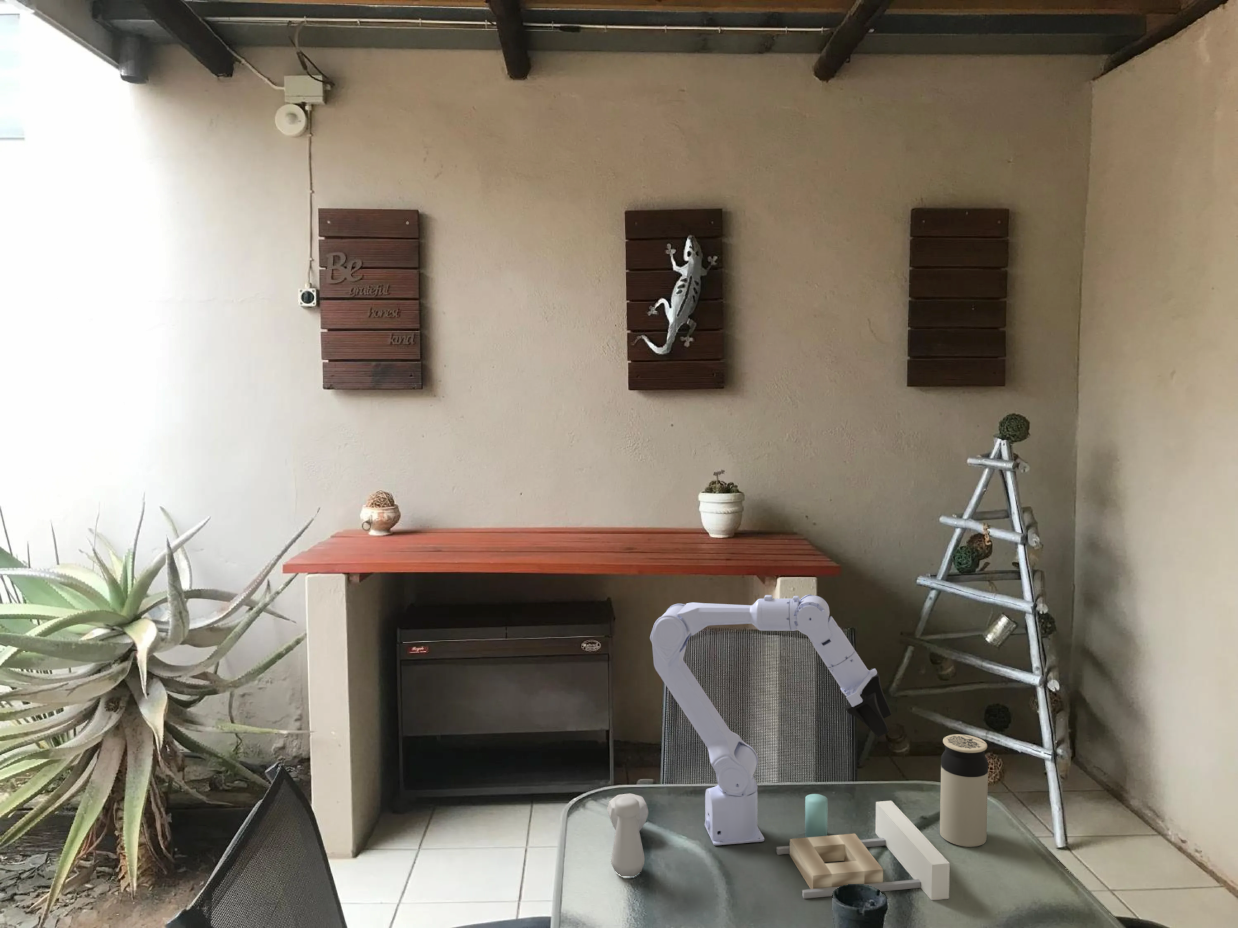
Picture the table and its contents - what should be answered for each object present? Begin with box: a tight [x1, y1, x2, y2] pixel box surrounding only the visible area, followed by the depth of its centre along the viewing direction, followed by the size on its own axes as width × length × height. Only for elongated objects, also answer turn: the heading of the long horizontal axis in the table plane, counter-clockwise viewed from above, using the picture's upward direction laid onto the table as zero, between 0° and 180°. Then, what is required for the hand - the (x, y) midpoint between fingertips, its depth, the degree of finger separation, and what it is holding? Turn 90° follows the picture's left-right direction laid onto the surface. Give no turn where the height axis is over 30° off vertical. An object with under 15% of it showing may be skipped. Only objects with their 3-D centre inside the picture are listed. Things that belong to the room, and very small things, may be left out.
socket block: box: [789, 833, 884, 889], centre depth 156 cm, size 12×12×3 cm
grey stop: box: [776, 800, 951, 901], centre depth 156 cm, size 23×22×6 cm
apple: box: [606, 793, 649, 832], centre depth 170 cm, size 8×8×7 cm
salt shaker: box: [610, 796, 646, 876], centre depth 156 cm, size 6×6×13 cm
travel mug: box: [939, 733, 989, 848], centre depth 166 cm, size 8×8×18 cm
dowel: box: [804, 793, 828, 838], centre depth 168 cm, size 4×4×7 cm
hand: (884, 725), depth 159 cm, fingers open, 7 cm apart
